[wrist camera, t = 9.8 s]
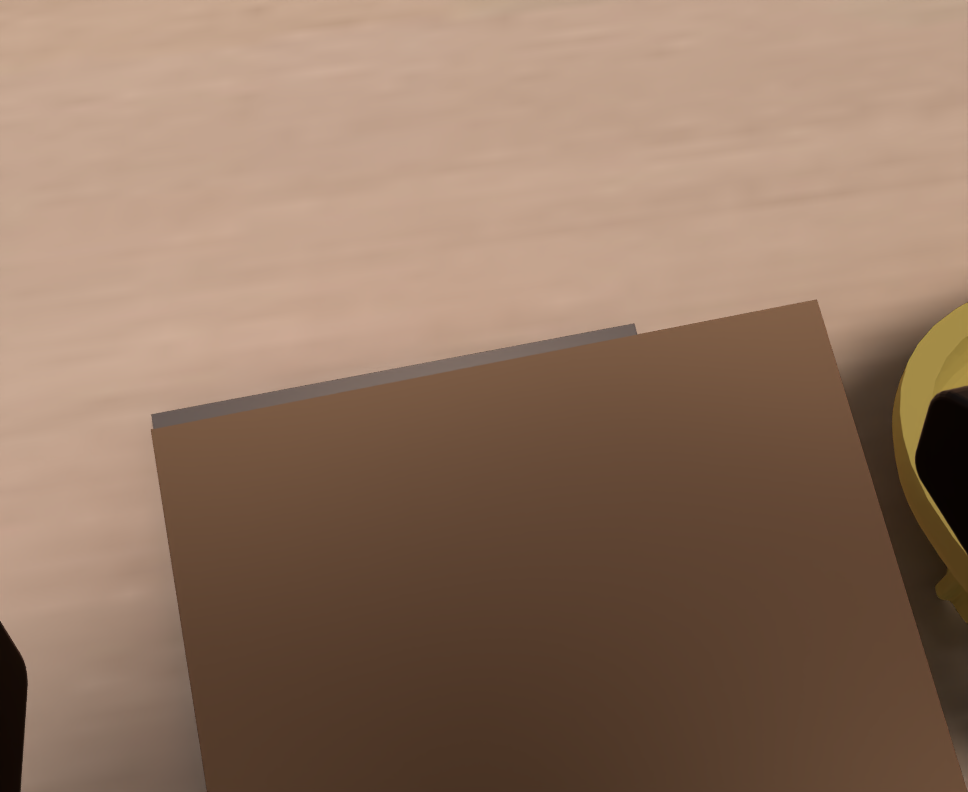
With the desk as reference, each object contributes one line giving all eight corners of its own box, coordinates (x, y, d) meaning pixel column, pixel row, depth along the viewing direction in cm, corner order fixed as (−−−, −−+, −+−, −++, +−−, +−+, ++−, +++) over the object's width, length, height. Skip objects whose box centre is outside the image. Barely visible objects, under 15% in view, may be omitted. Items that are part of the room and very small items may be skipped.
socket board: (750, 807, 18) (821, 855, 15) (240, 952, 17) (206, 1037, 14) (627, 330, 20) (668, 289, 17) (158, 419, 19) (113, 390, 16)
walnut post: (593, 704, 18) (1032, 1003, 6) (360, 765, 17) (279, 1261, 5) (539, 474, 19) (816, 300, 6) (315, 523, 18) (150, 429, 6)
